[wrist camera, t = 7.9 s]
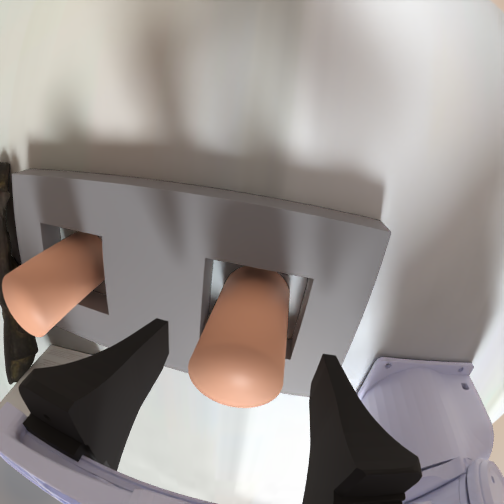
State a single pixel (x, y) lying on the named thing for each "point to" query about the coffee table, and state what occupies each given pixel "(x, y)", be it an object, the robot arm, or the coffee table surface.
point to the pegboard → (202, 258)
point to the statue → (15, 337)
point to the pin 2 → (244, 341)
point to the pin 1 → (54, 282)
